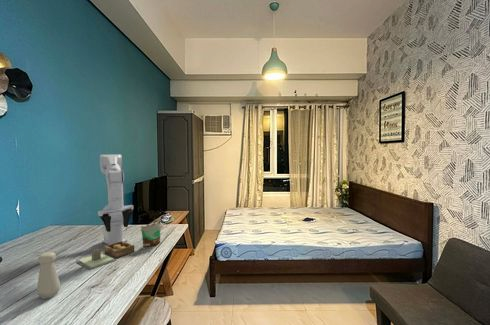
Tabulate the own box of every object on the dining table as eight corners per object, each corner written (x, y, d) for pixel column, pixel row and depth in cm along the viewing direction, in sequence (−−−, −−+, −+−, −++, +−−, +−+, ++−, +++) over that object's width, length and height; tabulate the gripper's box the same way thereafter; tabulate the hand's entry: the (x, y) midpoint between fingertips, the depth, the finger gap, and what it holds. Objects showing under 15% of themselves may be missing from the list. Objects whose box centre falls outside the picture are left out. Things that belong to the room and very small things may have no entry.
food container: (153, 249, 115) (153, 227, 115) (141, 248, 116) (140, 226, 116) (167, 239, 127) (166, 219, 127) (156, 239, 129) (155, 219, 128)
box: (104, 253, 112) (104, 246, 112) (122, 247, 118) (122, 240, 118) (116, 258, 106) (116, 251, 106) (134, 252, 112) (134, 245, 112)
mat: (76, 262, 103) (76, 261, 103) (102, 253, 111) (102, 253, 111) (89, 269, 96) (89, 269, 96) (116, 260, 104) (116, 259, 104)
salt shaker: (45, 290, 82) (43, 250, 81) (64, 289, 82) (62, 249, 82) (32, 301, 76) (29, 258, 75) (52, 300, 76) (50, 257, 76)
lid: (78, 261, 103) (78, 251, 103) (101, 254, 110) (100, 244, 110) (91, 267, 97) (90, 257, 97) (113, 259, 104) (113, 249, 104)
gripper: (103, 201, 103) (104, 235, 104) (136, 196, 115) (137, 226, 116) (95, 200, 108) (96, 232, 108) (128, 194, 119) (129, 223, 120)
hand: (117, 229), depth 112 cm, fingers open, 7 cm apart
